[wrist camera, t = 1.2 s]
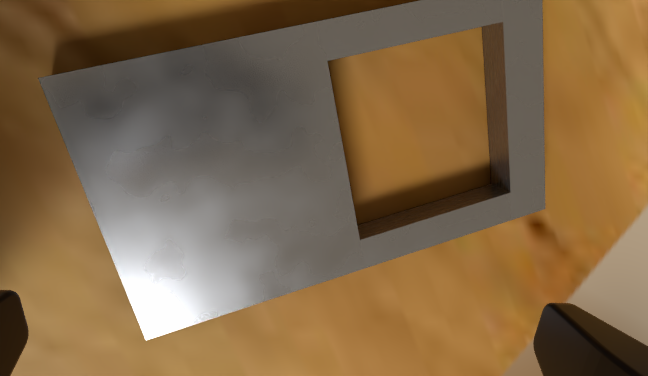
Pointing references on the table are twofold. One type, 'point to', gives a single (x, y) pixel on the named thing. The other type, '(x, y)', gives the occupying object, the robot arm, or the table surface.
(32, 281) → the table surface
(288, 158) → the rail plate
